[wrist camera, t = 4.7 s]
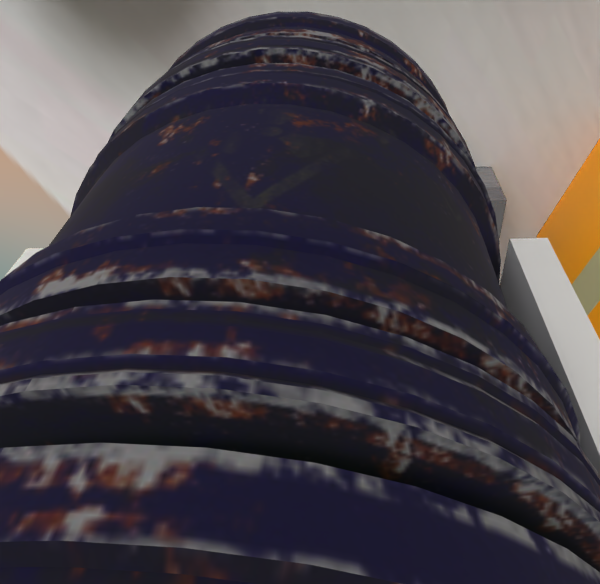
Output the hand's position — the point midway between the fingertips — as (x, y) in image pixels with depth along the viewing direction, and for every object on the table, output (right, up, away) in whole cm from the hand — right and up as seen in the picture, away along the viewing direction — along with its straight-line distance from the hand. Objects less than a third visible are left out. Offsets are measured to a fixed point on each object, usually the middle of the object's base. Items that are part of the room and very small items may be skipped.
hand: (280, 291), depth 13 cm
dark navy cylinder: (0, +3, +4) cm, 5 cm away
